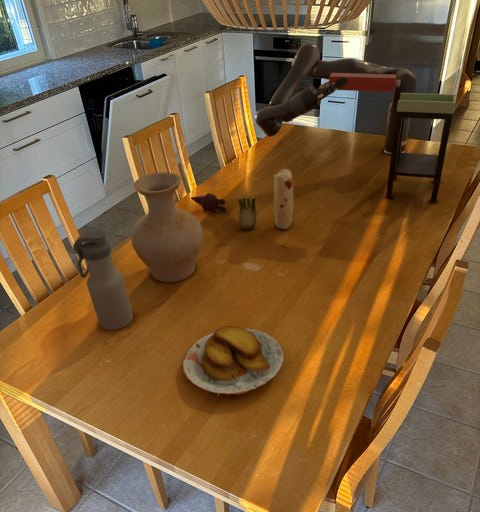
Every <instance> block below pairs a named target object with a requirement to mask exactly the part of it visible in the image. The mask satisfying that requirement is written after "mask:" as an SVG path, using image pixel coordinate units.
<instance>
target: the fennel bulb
mask: <svg viewBox="0 0 480 512" xmlns="http://www.w3.org/2000/svg"><path fill="white" fill-rule="evenodd" d="M237 202H238V208H239V210H238V224H239V227H240V228H241V229H243V230H252V229H254V228H255V226H256V225H257V216H258V215H257V209H256V208H257V207H256V197H255V196H251V197H250V196H242V197H238V199H237Z"/></svg>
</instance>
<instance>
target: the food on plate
mask: <svg viewBox="0 0 480 512" xmlns="http://www.w3.org/2000/svg"><path fill="white" fill-rule="evenodd" d="M197 345H198V346H197ZM285 357H286V356H285V352H284V349H283V347H282V344H281V343H280V342H279V340H277V339H276V338H275V337H274V336H272V335H270V333H266V332H264V331H261V330H257V329H252V328H247V327H240V326H236V325H224V326H220V327H217V328H216V329H215V330H214V331H213V332H212V333H208V334H207V335H205V336H203V337H201V338H199V339H197V341H195V343H194V344H193V345H192V347H190V348H189V350H188V352H187V353H186V356H185V358H184V359H183V360H182V369H183V370H182V371H183V375H184V381H188V382H189V383H191V384H192V385H193V386H196V388H199V389H200V390H204V391H207V392H211V393H214V394H217V395H216V397H219V396H220V394H224V395H233V394H234V395H236V396H238V395H242V394H245V393H248V392H250V391H251V390H255V389H257V388H258V387H261V386H263V385H266V384H267V382H269V381H271V379H273V378H274V377H276V375H277V374H278V372H279V371H280V369H281V367H282V365H283V364H284V362H285Z"/></svg>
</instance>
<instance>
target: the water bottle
mask: <svg viewBox="0 0 480 512" xmlns="http://www.w3.org/2000/svg"><path fill="white" fill-rule="evenodd" d="M72 249H73V253H74V254H75V255H77V257H78V260H77V263H76V264H77V265H76V266H77V269H78V272H79V275H80V277H81V278H82V279H85V278H86V277H87V276H88V277H87V279H86V286H87V290H88V293H89V296H90V300H91V303H92V305H93V309H94V313H95V316H96V318H97V322H98V324H99V326H100V327H101V328H102V329H105V330H107V331H116V330H117V331H118V330H121V329H123V328H126V327H127V326H128V325H129V324H131V322H132V321H133V318H134V313H133V309H132V305H131V302H130V298H129V293H128V290H127V286H126V282H125V278H124V275H123V273H122V272H121V271H120V270H119V269H118V268H115V264H114V261H113V257H112V249H111V245H110V242H109V241H108V240H107V235H106V232H105V231H103V230H91V231H90V230H89V231H88V230H86V231H84V232H82V233H81V234H80V235H79V236H78V237H77V238H76V239H75V241H74V242H73V245H72ZM84 260H85V262H86V266H87V268H86V269H85V271H83V268H82V262H83V261H84ZM88 274H89V275H88Z"/></svg>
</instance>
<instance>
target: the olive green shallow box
mask: <svg viewBox="0 0 480 512" xmlns="http://www.w3.org/2000/svg"><path fill="white" fill-rule="evenodd" d="M456 99H457V94H452V93H417V92H416V93H401V94H400V100H398V105H397V111H400V112H425V113H450V114H453V115H454V112H455V107H456Z"/></svg>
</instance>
